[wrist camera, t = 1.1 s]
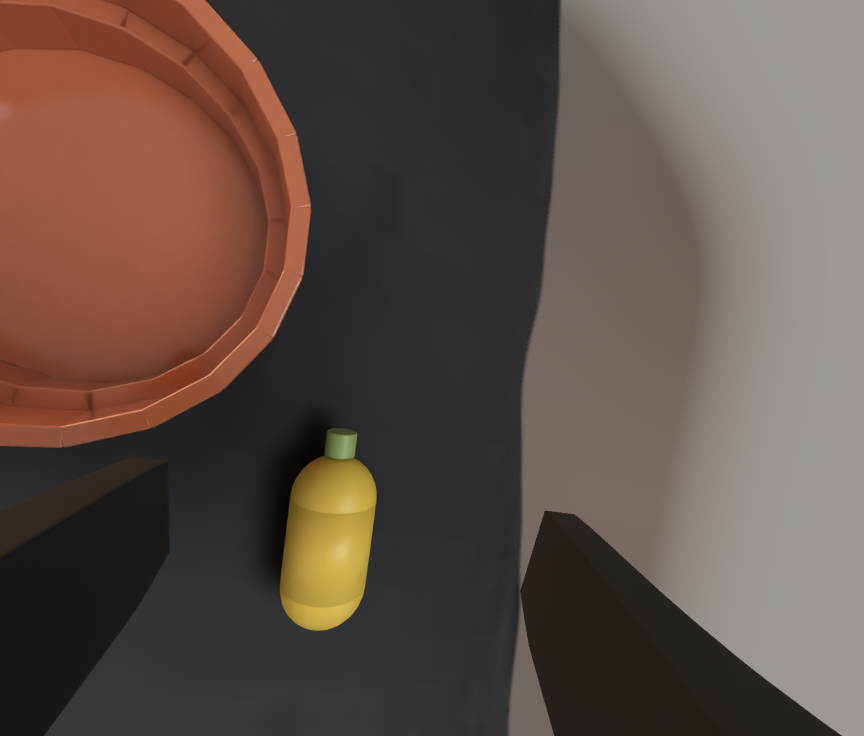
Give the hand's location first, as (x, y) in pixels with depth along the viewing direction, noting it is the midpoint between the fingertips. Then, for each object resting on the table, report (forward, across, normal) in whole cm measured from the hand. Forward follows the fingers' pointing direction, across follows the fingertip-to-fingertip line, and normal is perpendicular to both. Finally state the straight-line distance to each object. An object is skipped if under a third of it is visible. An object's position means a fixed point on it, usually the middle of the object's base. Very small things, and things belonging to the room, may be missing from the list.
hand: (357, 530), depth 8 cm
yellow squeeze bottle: (+9, +2, +7) cm, 12 cm away
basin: (+10, +11, -4) cm, 15 cm away
